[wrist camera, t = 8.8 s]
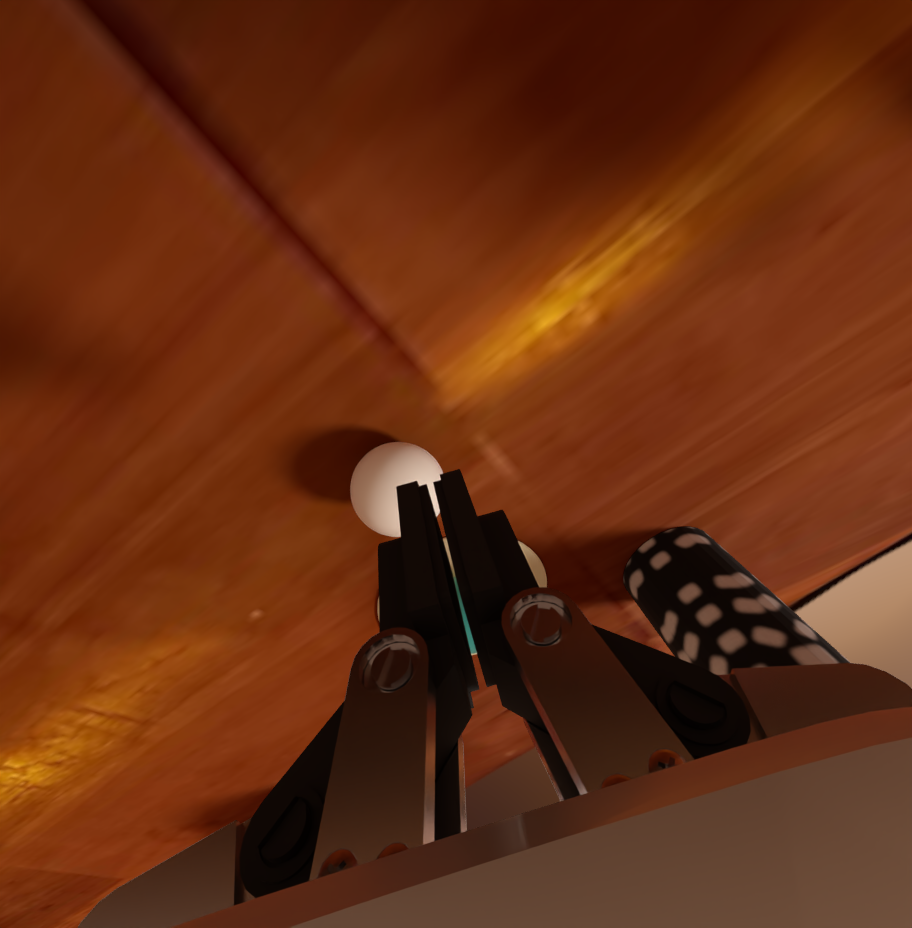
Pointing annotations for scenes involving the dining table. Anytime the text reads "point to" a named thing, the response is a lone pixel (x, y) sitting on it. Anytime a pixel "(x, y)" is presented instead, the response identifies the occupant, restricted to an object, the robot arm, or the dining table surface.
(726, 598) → the spotted tube
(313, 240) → the dining table surface
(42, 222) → the dining table surface
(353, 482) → the glossy white ball
